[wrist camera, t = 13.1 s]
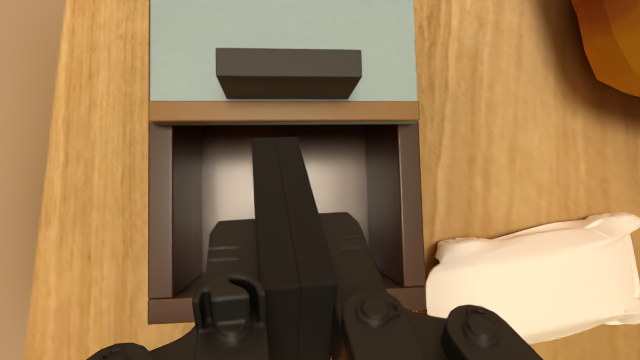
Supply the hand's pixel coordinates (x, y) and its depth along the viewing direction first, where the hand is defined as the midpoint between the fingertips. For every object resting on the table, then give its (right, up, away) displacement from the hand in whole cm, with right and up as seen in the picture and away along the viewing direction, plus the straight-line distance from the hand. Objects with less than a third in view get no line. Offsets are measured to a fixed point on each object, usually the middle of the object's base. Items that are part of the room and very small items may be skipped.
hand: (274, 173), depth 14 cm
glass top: (0, +12, +8) cm, 14 cm away
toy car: (+17, -8, +18) cm, 26 cm away
